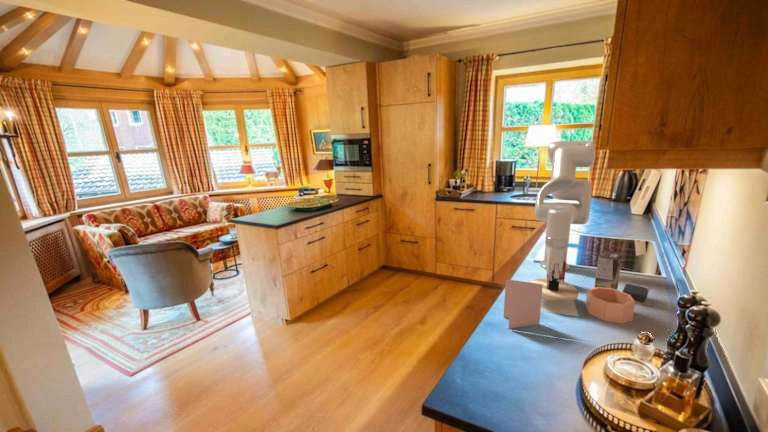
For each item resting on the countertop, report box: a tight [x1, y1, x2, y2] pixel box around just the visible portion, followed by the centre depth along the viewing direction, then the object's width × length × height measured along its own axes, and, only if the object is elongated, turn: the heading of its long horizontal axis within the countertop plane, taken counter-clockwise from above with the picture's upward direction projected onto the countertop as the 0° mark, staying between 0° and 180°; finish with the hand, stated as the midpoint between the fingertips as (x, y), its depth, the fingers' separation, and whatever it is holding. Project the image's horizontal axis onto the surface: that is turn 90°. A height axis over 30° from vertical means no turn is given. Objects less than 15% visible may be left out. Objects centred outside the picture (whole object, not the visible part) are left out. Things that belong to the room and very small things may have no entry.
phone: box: [622, 283, 649, 303], centre depth 131 cm, size 7×1×15 cm
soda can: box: [545, 259, 567, 282], centre depth 139 cm, size 7×7×12 cm
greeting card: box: [503, 279, 543, 331], centre depth 109 cm, size 11×7×15 cm, turn 66°
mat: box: [540, 298, 580, 317], centre depth 125 cm, size 16×16×1 cm
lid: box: [529, 274, 579, 302], centre depth 124 cm, size 17×17×6 cm
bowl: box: [585, 287, 636, 324], centre depth 116 cm, size 13×13×7 cm
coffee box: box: [593, 250, 623, 290], centre depth 130 cm, size 9×6×16 cm
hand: (552, 286), depth 124 cm, fingers closed on lid, 4 cm apart
